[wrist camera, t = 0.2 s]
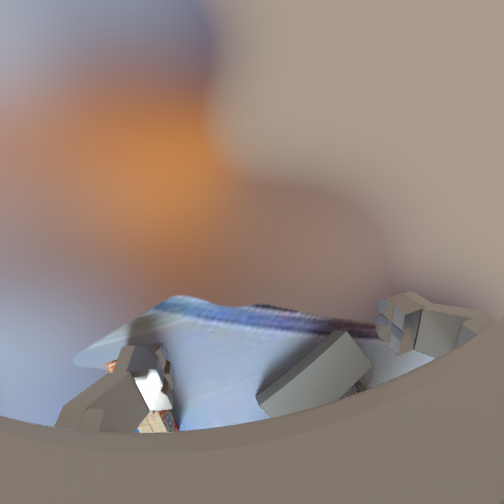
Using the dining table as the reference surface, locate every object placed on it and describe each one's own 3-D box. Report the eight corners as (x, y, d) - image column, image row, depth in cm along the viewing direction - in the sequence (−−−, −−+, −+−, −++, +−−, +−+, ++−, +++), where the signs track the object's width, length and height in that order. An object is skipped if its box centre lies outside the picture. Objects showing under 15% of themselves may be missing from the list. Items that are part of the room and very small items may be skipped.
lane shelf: (359, 361, 62) (373, 365, 55) (284, 426, 57) (290, 438, 50) (334, 329, 63) (346, 330, 57) (255, 396, 58) (259, 405, 51)
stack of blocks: (180, 430, 55) (172, 452, 43) (157, 434, 54) (145, 456, 42) (147, 349, 58) (131, 357, 46) (125, 355, 57) (104, 363, 45)
